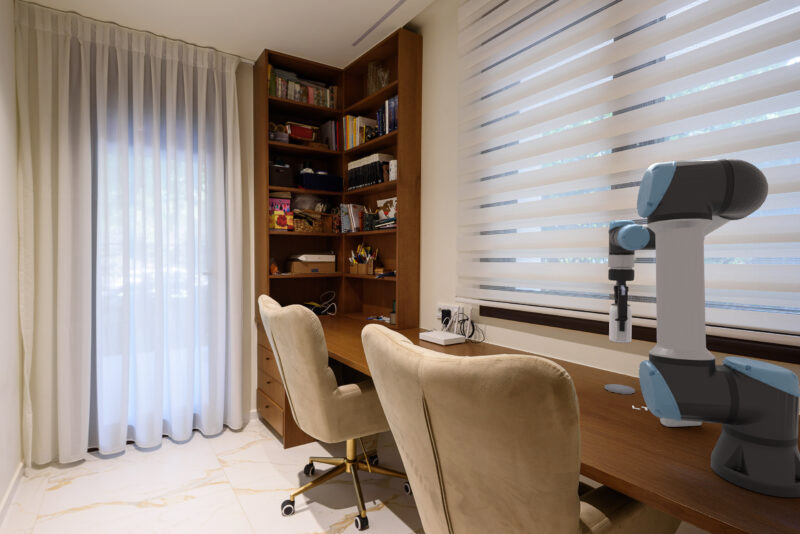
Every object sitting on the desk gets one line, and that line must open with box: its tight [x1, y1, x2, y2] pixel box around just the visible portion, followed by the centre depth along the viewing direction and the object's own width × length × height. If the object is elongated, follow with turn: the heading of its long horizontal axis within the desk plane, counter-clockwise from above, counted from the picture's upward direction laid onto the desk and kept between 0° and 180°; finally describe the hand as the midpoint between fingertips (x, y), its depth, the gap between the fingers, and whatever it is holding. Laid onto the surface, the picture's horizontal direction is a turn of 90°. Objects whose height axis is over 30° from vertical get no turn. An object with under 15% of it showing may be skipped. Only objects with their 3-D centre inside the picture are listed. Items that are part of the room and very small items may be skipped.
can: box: [608, 303, 633, 344], centre depth 139 cm, size 6×6×12 cm
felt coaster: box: [603, 383, 636, 395], centre depth 140 cm, size 9×9×1 cm
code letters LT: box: [631, 405, 649, 411], centre depth 124 cm, size 2×4×1 cm, turn 68°
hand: (620, 338), depth 139 cm, fingers closed on can, 6 cm apart
